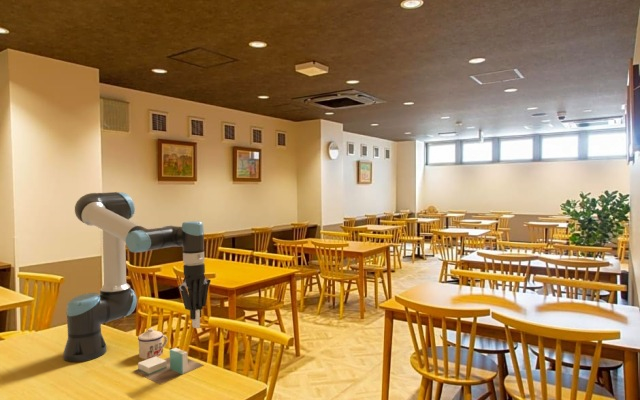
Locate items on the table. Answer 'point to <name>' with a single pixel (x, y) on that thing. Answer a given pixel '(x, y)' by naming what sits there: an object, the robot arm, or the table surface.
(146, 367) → the tile
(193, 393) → the table surface
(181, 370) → the tile
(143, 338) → the teacup with lid
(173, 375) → the walnut board
